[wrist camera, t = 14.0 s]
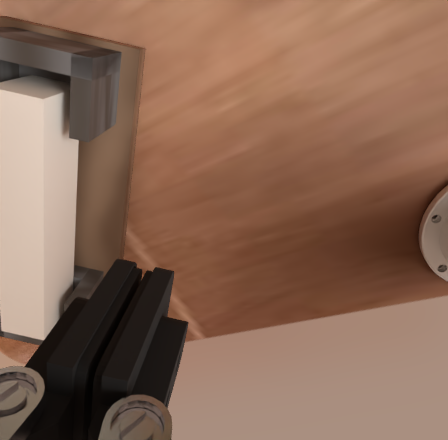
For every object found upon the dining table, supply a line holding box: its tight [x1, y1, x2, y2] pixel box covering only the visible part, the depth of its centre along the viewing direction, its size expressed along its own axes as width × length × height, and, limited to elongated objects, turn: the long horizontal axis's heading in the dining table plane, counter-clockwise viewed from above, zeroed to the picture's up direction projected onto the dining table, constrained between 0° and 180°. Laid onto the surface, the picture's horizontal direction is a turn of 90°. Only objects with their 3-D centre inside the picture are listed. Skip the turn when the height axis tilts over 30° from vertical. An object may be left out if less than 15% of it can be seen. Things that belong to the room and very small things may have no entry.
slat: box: [0, 75, 79, 340], centre depth 35 cm, size 22×4×6 cm, turn 168°
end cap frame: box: [0, 16, 145, 345], centre depth 37 cm, size 12×29×8 cm, turn 168°
